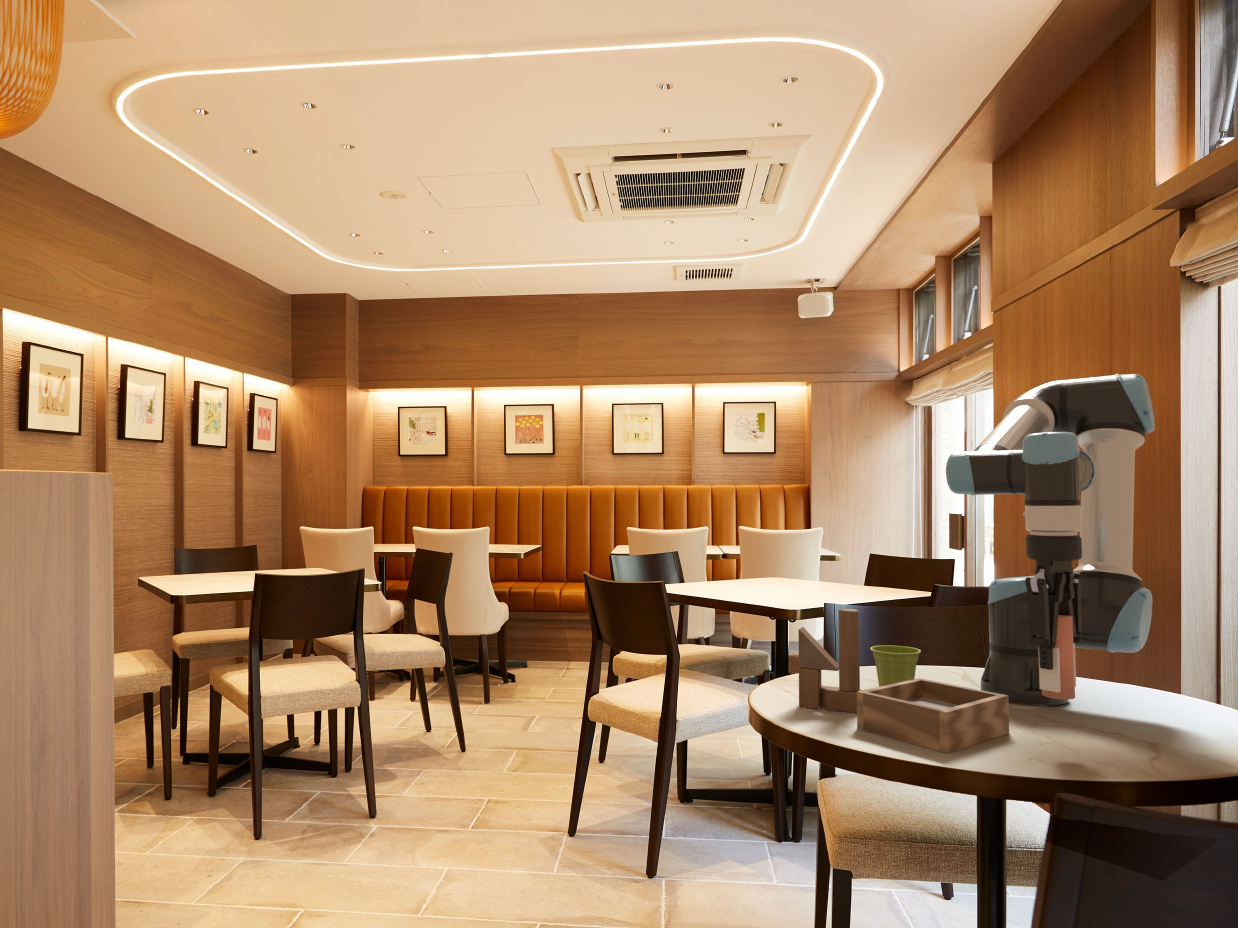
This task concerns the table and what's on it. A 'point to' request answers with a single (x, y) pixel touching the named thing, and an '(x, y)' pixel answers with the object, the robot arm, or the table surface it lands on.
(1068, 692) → the peg
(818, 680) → the brown wooden stacked blocks
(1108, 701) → the table surface
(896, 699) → the box
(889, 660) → the plant pot
